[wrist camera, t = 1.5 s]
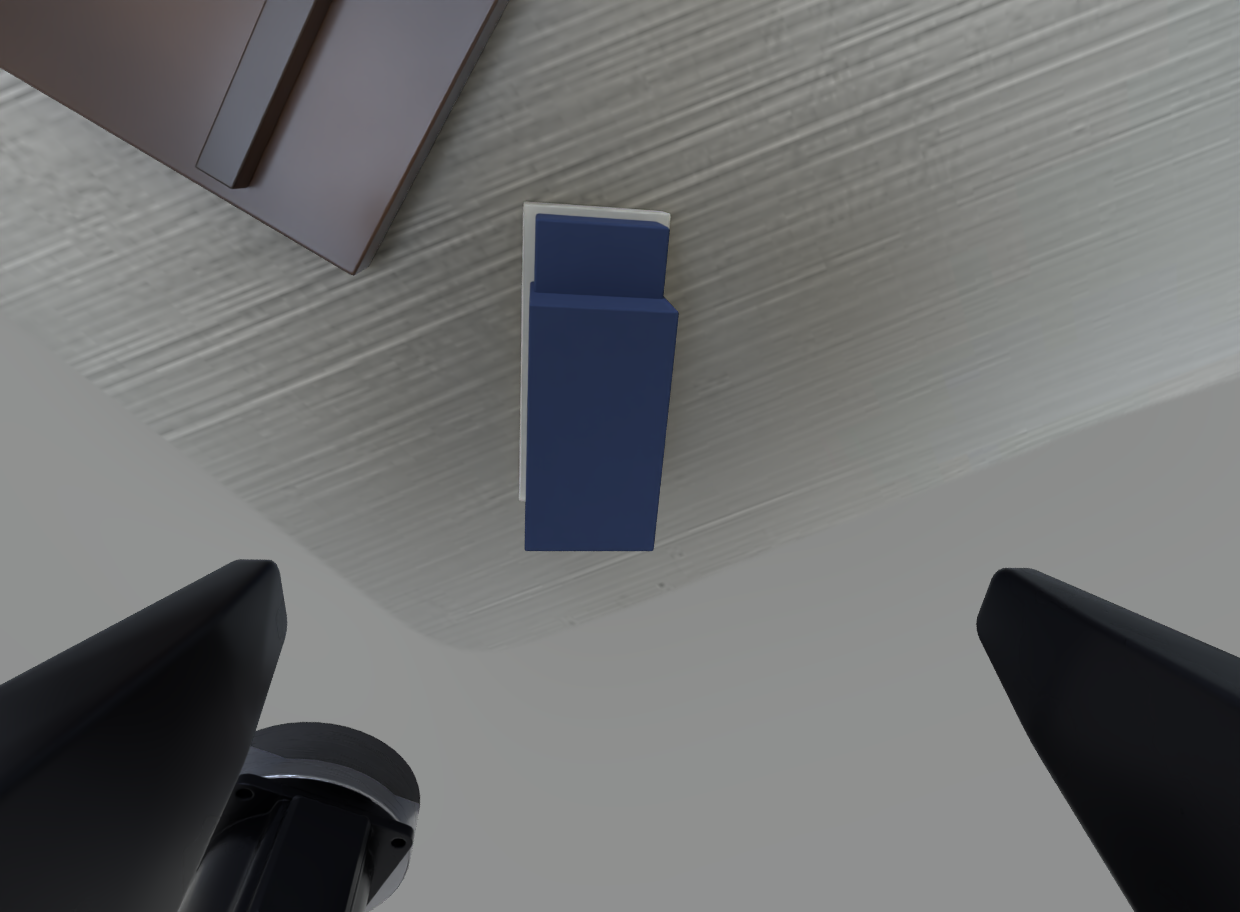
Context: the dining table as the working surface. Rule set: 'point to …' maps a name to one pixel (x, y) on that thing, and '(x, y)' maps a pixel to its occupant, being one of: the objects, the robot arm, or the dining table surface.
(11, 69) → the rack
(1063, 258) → the dining table surface
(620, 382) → the stepped navy block
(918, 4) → the dining table surface
